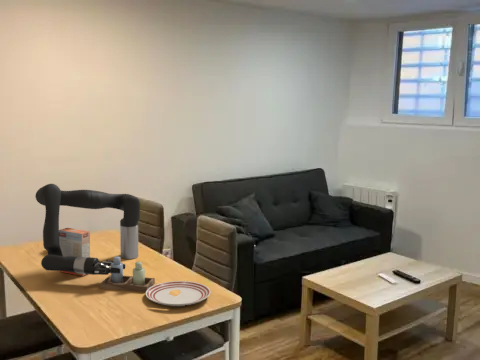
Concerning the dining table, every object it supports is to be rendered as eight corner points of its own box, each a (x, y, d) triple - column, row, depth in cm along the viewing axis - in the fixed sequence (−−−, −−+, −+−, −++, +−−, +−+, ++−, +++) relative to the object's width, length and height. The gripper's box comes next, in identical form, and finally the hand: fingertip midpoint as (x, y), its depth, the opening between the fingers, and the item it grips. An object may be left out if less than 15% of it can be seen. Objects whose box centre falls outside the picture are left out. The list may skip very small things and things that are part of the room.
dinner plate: (139, 290, 223) (139, 283, 223) (198, 283, 234) (198, 276, 233) (154, 316, 198) (154, 307, 198) (219, 306, 209) (220, 298, 209)
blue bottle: (113, 278, 230) (113, 255, 228) (124, 279, 229) (124, 256, 227) (109, 282, 225) (108, 258, 223) (120, 283, 224) (120, 259, 222)
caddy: (110, 280, 233) (110, 274, 233) (154, 284, 230) (154, 278, 230) (100, 289, 223) (100, 283, 222) (146, 293, 220) (146, 287, 219)
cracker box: (91, 273, 243) (90, 230, 239) (82, 277, 237) (81, 233, 234) (68, 268, 248) (67, 226, 245) (59, 272, 243) (58, 229, 240)
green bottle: (135, 284, 229) (135, 260, 227) (146, 285, 228) (146, 261, 226) (131, 288, 224) (131, 264, 222) (142, 289, 223) (142, 265, 221)
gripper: (79, 262, 220) (116, 265, 218) (93, 252, 234) (128, 255, 232) (79, 279, 222) (116, 282, 219) (93, 268, 236) (128, 271, 233)
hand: (122, 268), depth 225 cm, fingers closed on blue bottle, 5 cm apart
